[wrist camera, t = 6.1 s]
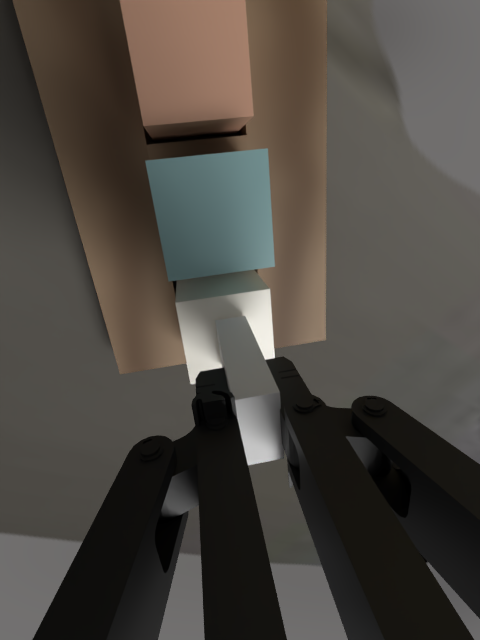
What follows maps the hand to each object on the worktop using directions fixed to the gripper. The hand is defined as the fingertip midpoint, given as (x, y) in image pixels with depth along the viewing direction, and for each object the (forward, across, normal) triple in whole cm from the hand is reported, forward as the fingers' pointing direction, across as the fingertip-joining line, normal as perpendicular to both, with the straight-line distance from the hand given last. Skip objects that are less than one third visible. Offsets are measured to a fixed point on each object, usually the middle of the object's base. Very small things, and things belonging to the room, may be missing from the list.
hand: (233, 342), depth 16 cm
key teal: (+4, 0, +6) cm, 7 cm away
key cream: (+5, 0, 0) cm, 5 cm away
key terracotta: (+6, 0, +12) cm, 14 cm away
